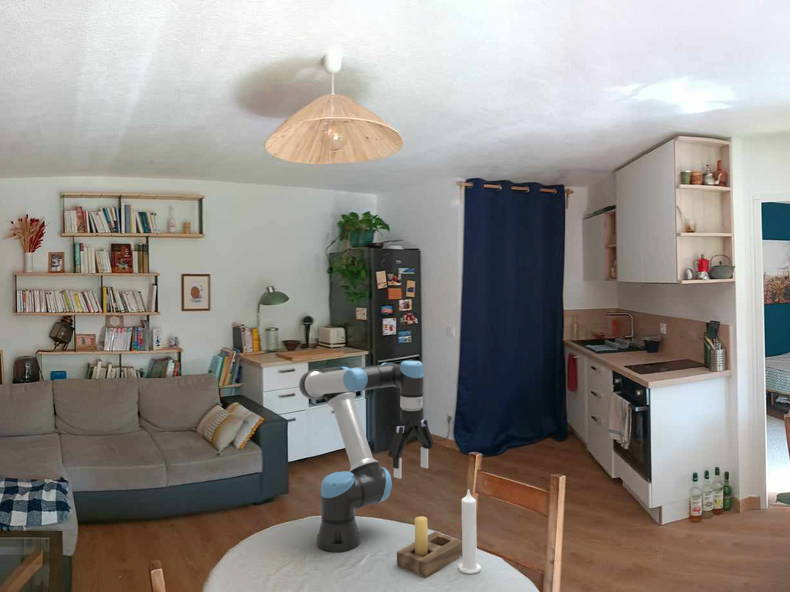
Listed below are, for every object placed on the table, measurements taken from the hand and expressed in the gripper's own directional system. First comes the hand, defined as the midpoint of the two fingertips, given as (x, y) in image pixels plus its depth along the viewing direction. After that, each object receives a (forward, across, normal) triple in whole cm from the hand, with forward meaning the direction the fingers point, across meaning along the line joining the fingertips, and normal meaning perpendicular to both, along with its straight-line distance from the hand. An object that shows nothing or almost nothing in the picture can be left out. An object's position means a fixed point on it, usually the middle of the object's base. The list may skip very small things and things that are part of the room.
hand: (411, 472), depth 189 cm
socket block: (+28, +2, -7) cm, 29 cm away
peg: (+28, -3, -7) cm, 29 cm away
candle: (+28, +5, -20) cm, 34 cm away
